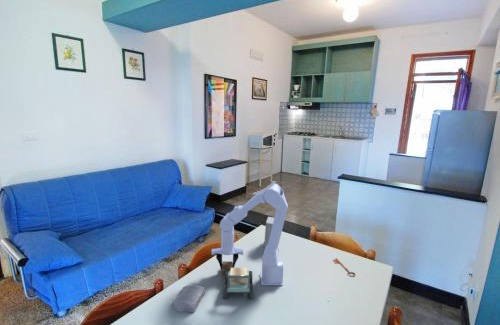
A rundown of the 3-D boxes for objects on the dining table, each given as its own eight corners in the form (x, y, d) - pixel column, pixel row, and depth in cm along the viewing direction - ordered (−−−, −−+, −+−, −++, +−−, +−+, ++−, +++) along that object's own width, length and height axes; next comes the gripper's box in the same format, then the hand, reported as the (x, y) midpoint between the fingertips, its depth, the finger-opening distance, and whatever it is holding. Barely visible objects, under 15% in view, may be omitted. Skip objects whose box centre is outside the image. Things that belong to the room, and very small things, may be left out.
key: (329, 260, 134) (345, 278, 120) (329, 259, 134) (345, 277, 120) (339, 258, 135) (356, 276, 121) (339, 257, 135) (357, 274, 121)
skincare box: (265, 241, 151) (266, 216, 148) (277, 242, 150) (279, 217, 146) (263, 248, 143) (264, 222, 140) (276, 250, 141) (277, 223, 138)
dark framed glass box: (251, 278, 117) (252, 258, 115) (253, 300, 104) (253, 277, 102) (225, 278, 117) (225, 257, 115) (223, 300, 103) (223, 277, 101)
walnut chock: (232, 268, 125) (232, 257, 123) (231, 277, 118) (232, 265, 117) (223, 268, 124) (223, 257, 123) (222, 277, 118) (222, 265, 116)
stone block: (171, 314, 98) (196, 313, 96) (169, 303, 98) (193, 302, 96) (185, 294, 110) (207, 293, 108) (182, 283, 109) (204, 282, 107)
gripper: (243, 237, 122) (242, 263, 124) (212, 236, 121) (212, 263, 124) (243, 244, 115) (242, 272, 117) (210, 244, 114) (211, 272, 117)
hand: (227, 268), depth 120 cm, fingers open, 5 cm apart
